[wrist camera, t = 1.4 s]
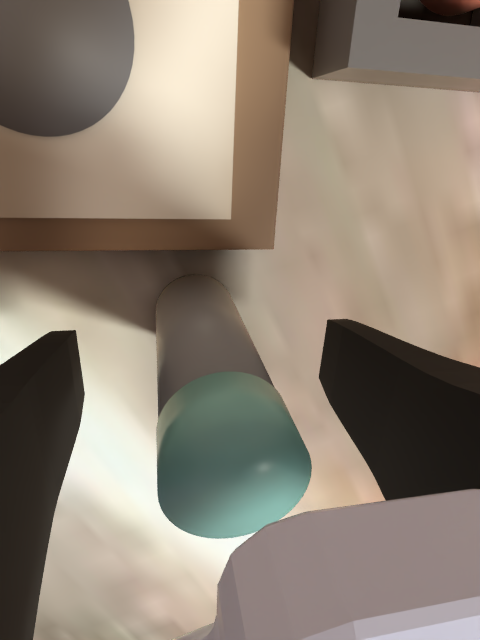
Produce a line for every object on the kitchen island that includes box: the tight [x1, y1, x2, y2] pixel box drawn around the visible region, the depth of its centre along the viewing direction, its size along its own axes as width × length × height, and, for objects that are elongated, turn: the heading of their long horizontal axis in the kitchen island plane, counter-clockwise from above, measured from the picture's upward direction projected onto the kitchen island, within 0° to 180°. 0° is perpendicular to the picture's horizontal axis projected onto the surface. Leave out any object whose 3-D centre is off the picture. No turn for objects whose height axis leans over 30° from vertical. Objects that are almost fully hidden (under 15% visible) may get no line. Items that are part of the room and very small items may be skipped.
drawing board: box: [0, 0, 294, 251], centre depth 10 cm, size 13×11×1 cm
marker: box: [156, 275, 312, 538], centre depth 11 cm, size 3×3×8 cm
